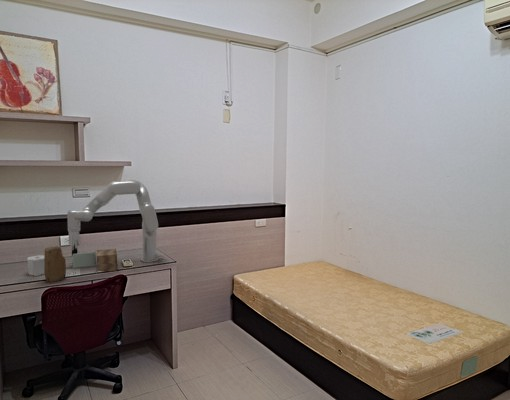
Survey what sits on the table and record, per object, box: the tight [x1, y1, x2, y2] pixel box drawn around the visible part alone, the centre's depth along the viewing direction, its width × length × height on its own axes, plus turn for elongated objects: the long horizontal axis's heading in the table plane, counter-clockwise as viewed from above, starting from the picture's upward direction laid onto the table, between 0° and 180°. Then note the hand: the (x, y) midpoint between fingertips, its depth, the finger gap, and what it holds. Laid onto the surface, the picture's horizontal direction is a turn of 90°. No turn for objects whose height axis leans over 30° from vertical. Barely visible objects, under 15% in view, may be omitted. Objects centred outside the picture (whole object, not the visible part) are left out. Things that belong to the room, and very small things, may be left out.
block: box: [43, 245, 67, 283], centre depth 223 cm, size 11×8×20 cm
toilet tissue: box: [26, 254, 45, 277], centre depth 234 cm, size 11×12×10 cm
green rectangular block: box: [72, 250, 97, 269], centre depth 249 cm, size 3×14×10 cm, turn 123°
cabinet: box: [96, 248, 118, 272], centre depth 248 cm, size 12×14×11 cm
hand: (74, 255), depth 250 cm, fingers closed
